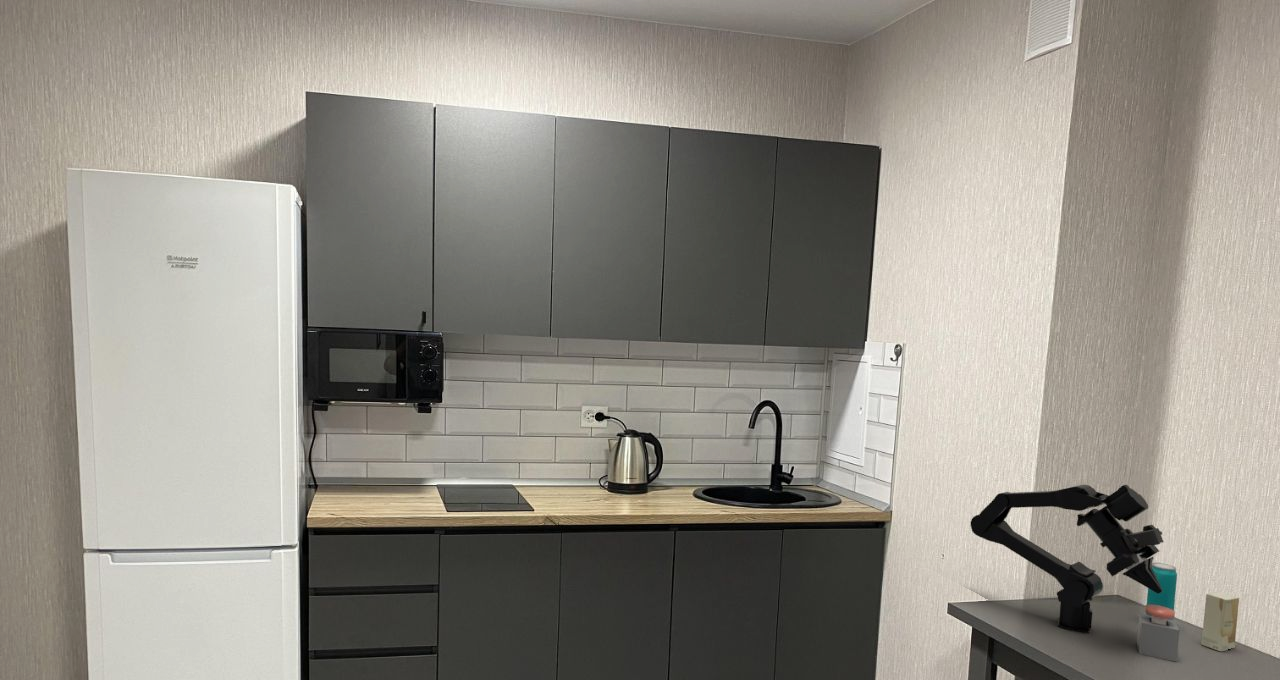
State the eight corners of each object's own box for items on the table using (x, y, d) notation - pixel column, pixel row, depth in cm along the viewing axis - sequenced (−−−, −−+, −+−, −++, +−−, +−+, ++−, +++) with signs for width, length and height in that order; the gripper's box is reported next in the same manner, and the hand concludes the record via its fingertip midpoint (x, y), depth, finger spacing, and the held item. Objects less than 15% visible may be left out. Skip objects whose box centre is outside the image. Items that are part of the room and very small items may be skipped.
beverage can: (1164, 622, 202) (1169, 563, 201) (1177, 630, 196) (1182, 570, 196) (1140, 619, 202) (1145, 561, 202) (1152, 628, 196) (1158, 567, 196)
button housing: (1139, 653, 179) (1142, 622, 179) (1136, 643, 185) (1139, 613, 185) (1176, 661, 176) (1179, 630, 176) (1172, 651, 182) (1175, 620, 182)
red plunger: (1143, 642, 180) (1146, 609, 179) (1141, 634, 184) (1144, 602, 184) (1173, 649, 177) (1176, 615, 177) (1170, 640, 182) (1173, 608, 182)
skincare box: (1220, 652, 183) (1225, 599, 183) (1200, 645, 187) (1204, 593, 187) (1235, 648, 186) (1240, 597, 186) (1215, 641, 190) (1219, 590, 190)
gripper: (1126, 518, 178) (1180, 581, 170) (1152, 509, 190) (1203, 567, 182) (1085, 544, 184) (1135, 606, 176) (1113, 534, 196) (1161, 591, 188)
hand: (1160, 592), depth 181 cm, fingers closed
